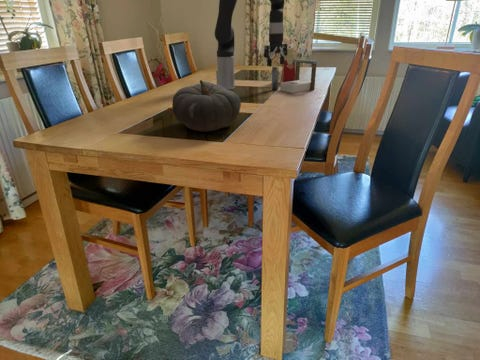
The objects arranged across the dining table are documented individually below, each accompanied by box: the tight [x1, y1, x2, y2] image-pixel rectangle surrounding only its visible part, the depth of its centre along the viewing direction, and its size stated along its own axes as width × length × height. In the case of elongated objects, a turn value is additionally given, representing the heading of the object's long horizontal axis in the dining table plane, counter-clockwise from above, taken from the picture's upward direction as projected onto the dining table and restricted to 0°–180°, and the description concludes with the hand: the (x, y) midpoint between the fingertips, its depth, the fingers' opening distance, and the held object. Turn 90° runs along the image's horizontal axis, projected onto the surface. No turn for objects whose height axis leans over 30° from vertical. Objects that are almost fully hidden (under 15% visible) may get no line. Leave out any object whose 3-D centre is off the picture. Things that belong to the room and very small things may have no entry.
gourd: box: [171, 79, 242, 133], centre depth 124 cm, size 25×25×17 cm
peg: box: [271, 66, 279, 91], centre depth 183 cm, size 3×3×12 cm
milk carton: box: [279, 47, 296, 84], centre depth 199 cm, size 9×9×20 cm
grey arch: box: [293, 58, 318, 92], centre depth 183 cm, size 4×14×15 cm, turn 36°
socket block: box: [280, 79, 311, 94], centre depth 183 cm, size 13×10×4 cm
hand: (275, 65), depth 180 cm, fingers open, 8 cm apart
